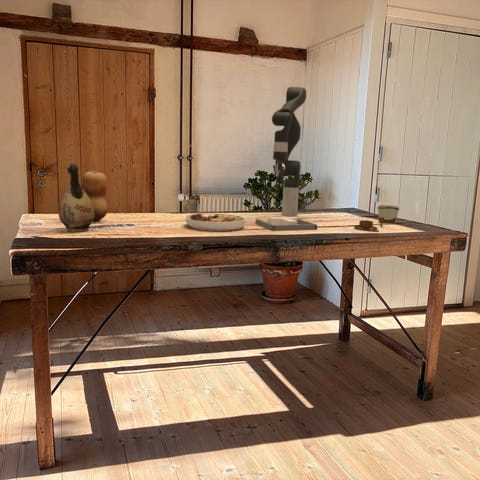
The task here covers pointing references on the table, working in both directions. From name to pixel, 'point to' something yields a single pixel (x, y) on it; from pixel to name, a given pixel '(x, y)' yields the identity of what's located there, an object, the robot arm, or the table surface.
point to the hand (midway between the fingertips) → (278, 183)
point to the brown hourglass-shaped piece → (96, 192)
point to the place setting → (368, 225)
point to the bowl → (215, 222)
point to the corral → (302, 225)
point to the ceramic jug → (76, 205)
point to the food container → (388, 213)
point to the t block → (282, 220)
